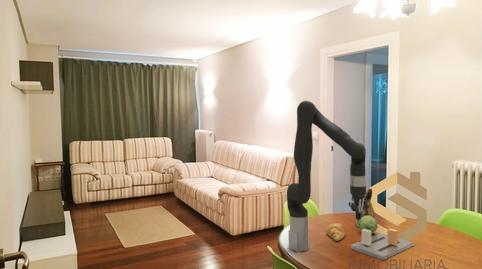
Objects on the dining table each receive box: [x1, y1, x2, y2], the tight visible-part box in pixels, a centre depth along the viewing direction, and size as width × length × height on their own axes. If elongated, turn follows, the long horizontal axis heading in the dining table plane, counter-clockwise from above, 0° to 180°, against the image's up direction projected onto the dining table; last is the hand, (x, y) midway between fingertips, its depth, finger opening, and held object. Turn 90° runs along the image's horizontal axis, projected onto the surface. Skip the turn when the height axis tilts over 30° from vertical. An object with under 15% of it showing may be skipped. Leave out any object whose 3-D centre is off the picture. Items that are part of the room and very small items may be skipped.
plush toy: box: [354, 186, 376, 228], centre depth 202 cm, size 14×14×25 cm
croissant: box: [325, 222, 346, 242], centre depth 189 cm, size 21×10×8 cm, turn 169°
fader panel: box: [350, 232, 414, 261], centre depth 171 cm, size 26×18×2 cm
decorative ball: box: [358, 216, 378, 235], centre depth 190 cm, size 10×10×10 cm
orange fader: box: [386, 228, 399, 245], centre depth 169 cm, size 2×4×7 cm, turn 36°
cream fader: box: [360, 229, 372, 246], centre depth 170 cm, size 2×4×7 cm, turn 35°
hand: (358, 219), depth 166 cm, fingers closed
